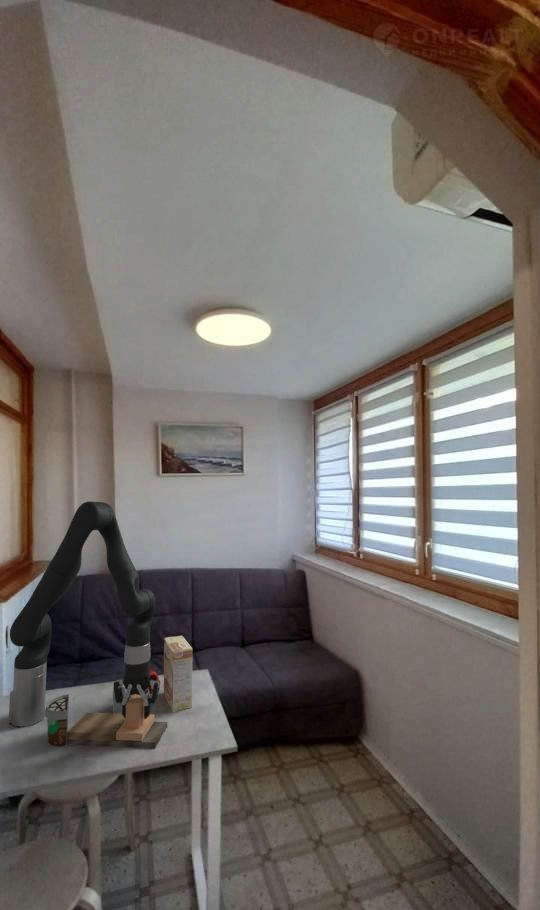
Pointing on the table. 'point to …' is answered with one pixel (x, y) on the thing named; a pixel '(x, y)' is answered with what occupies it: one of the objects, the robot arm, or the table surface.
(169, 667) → the coffeecake box
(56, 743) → the food container
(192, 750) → the table surface
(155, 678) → the pomegranate
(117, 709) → the medicine box
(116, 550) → the robot arm
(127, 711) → the stub
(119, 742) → the board
